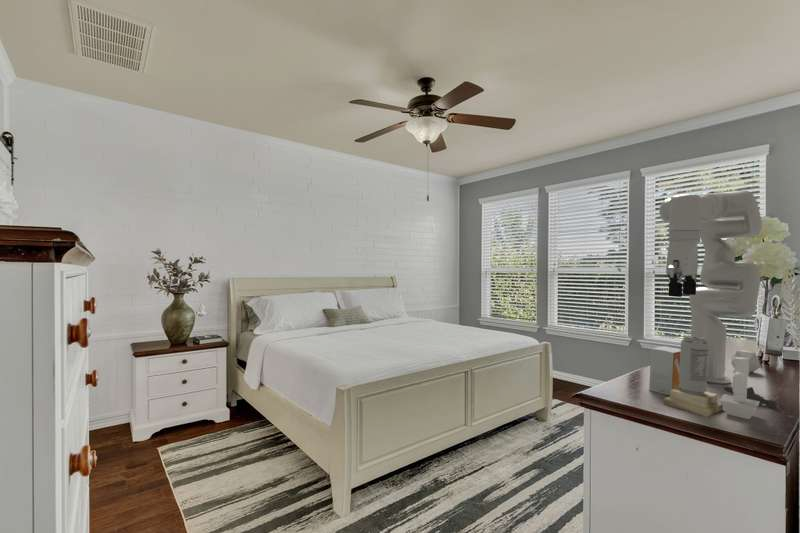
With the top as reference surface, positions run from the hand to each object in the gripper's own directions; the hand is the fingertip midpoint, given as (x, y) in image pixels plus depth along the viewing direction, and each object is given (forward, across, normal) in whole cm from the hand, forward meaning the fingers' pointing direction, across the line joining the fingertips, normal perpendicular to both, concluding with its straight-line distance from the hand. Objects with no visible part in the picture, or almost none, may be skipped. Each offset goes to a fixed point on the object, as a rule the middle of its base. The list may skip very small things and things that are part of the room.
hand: (682, 295), depth 115 cm
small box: (+30, 0, -4) cm, 30 cm away
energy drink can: (+26, +8, +6) cm, 27 cm away
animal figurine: (+31, -11, +13) cm, 35 cm away
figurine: (+30, +4, +15) cm, 34 cm away
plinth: (+30, +8, +6) cm, 31 cm away
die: (+32, -54, +1) cm, 63 cm away
